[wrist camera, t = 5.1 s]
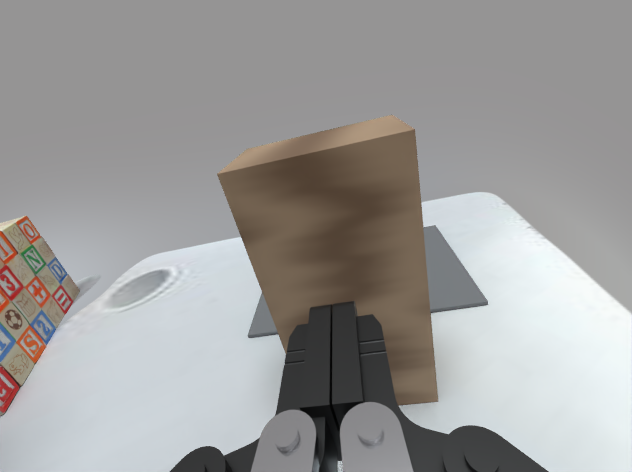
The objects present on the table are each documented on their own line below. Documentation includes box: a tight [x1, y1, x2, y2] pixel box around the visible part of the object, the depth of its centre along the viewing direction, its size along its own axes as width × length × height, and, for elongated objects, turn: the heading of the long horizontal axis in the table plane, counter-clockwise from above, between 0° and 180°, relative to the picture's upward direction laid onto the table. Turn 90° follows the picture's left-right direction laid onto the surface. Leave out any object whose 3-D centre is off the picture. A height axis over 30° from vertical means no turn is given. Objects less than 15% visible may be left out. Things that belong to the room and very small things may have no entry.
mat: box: [248, 225, 488, 338], centre depth 32 cm, size 20×14×1 cm
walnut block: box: [217, 115, 438, 405], centre depth 18 cm, size 8×5×16 cm, turn 86°
